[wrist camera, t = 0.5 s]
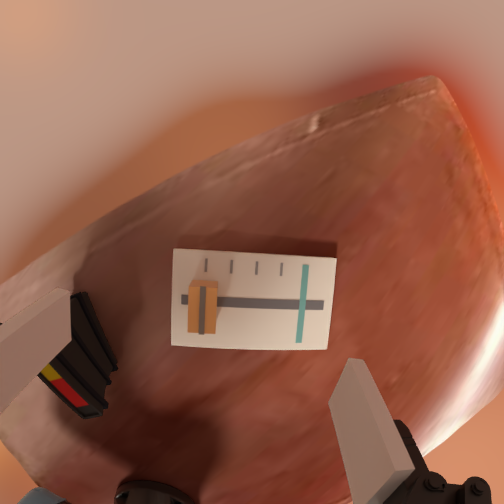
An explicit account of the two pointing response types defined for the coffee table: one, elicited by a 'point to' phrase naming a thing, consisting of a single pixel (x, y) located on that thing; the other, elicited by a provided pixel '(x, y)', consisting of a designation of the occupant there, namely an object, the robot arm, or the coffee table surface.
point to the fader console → (256, 299)
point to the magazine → (82, 363)
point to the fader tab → (202, 307)
